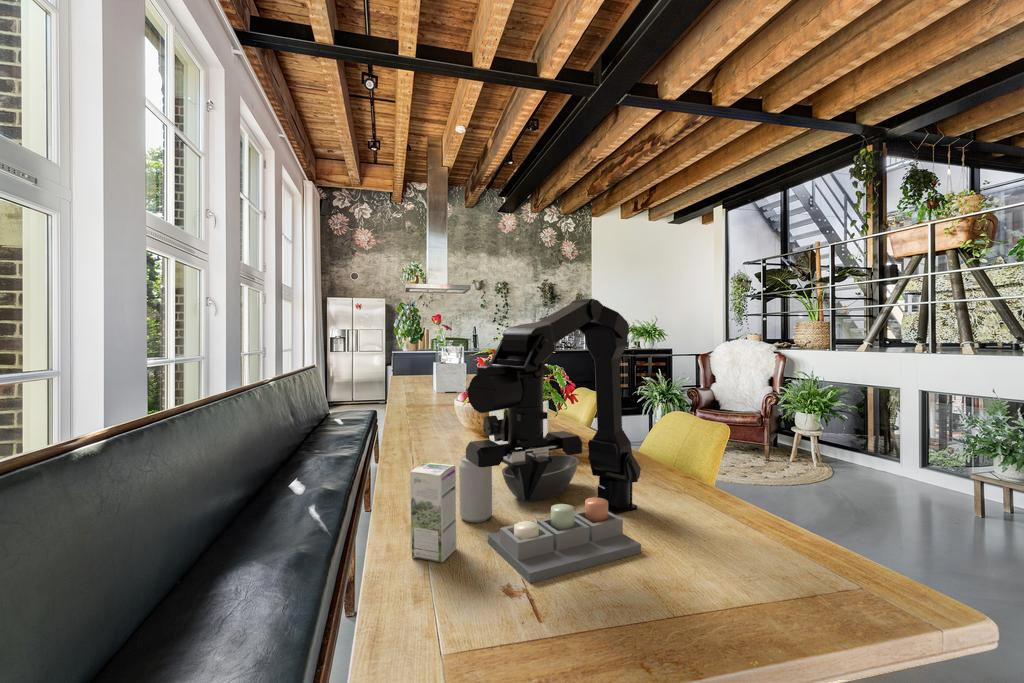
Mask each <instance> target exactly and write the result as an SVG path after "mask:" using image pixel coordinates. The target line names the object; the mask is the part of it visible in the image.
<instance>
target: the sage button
mask: <svg viewBox="0 0 1024 683" xmlns="http://www.w3.org/2000/svg"><path fill="white" fill-rule="evenodd" d="M575 509H576V508H575V506H574V505H570V504H565V503H557V504H553V505H551V507H550V517H551V527H553V528H554V529H555V530H557V531H563V530H567V529H572V528H575V512H576V510H575Z"/></svg>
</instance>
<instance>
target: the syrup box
mask: <svg viewBox="0 0 1024 683" xmlns="http://www.w3.org/2000/svg"><path fill="white" fill-rule="evenodd" d="M456 473H457V472H456V465H455V464H445V463H435V462H424V463H421V464H420V465H418V466H416V467H415V468H413V469H412V470H410V474H409V475H410V477H409V478H410V480H409V481H410V482H409V483H410V486H409V487H410V529H411V530H410V531H411V532H410V534H411V535H410V537H411V558H413V559H418V560H424V561H431V562H436V563H443V562H445V561H446V559H448V558H449V557H450V556H451V555H452V554H453V552H454V551H456V550H457V515H456V514H457V513H456V512H457V511H456V510H457V509H456V508H457V507H456V506H457V503H456V502H457V499H456V498H457V496H456V495H457V494H456V492H457V485H456V484H457V477H456V476H457V475H456Z"/></svg>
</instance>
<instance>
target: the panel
mask: <svg viewBox="0 0 1024 683" xmlns="http://www.w3.org/2000/svg"><path fill="white" fill-rule="evenodd" d="M530 522H534V523H536V524H538V526H539V536H536V537H532V538H527V539H523V540H519V539H518V538H517V537H516V536H515V535H514V525H515V524H513V525H508V526H503V527H500V528H499V531H498V532H494V533H489V534H487V543H488V545H489V546H490V547H491V548H493V550H495V551H496V553H497V554H499V555H500V556H501V557H502V558H503V559H504V560H505V561H506V562H507V563H508V564H509V565H511V567H512V568H513V569H514V570H515V571H516V572H517V573H519V575H521V576H522V577H523V578H524V579H525V580H526V581H527V582H528V583H529V584H533V583H535V582H536V583H537V582H539V581H544V580H547V579H551V578H555V577H559V576H561V575H565V574H569V573H573V572H576V571H580V570H584V569H588V568H591V567H595V566H599V565H602V564H606V563H609V562H613V561H616V560H617V561H618V560H622V559H625V558H627V557H631V556H635V555H639V554H641V553H642V544H641V543H640V542H639V541H637V540H635V539H633V538H632V537H629V536H628V535H626V534H624V533H623V532H624V531H623V529H624V528H623V527H624V526H623V525H624V523H623V522H624V519H623V518H621V517H619V516H618V515H616V514H615V513H611V512H609V511H608V520H607V521H603V522H598V523H594V524H593V523H592V522H590V521H588V520H587V519H585V509H584V510H580V511H575V528H572V529H567V530H563V531H557V530H555V529H554V528H553V527H551V516H550V517H546V518H541V519H537V520H536V521H534V520H532V521H530Z"/></svg>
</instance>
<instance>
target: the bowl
mask: <svg viewBox="0 0 1024 683" xmlns="http://www.w3.org/2000/svg"><path fill="white" fill-rule="evenodd" d="M549 457H550V458H552V459H553V462H552V463H549V464H548V465H547V467H546V469H545V471H544V472H543V474H542V476H541V477H540V479H539V481H538V483H537V485H536V487H535V490H534V492H533V494H532V496H531V498H530V500H529V501H528V502H533V501H534V502H536V501H541V500H546V499H549V498H552V497H555V496H557V495H560V494H561V493H562V492H564V491H565V490H566V488H567V487H568V486H569V484H570V483H571V481H572V480H573V478H574V476H575V473H576V471H577V469H578V465H579V462H580V460H579V458H578V457H577V456H573V455H567V454H549ZM501 475H502V478H503V480H504V482H505V485H506V487H507V488H508V489H509V491H510V492H511V494H512V495H513V496H514V497H515V498H516V499H517V500H518V501H523V500H522V498H521V495H520V492H519V489H518V486H517V484H516V481H515V478H514V475H513V473H512V471H511V469H510V467H509V466H508V465H506V466H504V467H503V468H502V470H501ZM523 502H524V501H523Z"/></svg>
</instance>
